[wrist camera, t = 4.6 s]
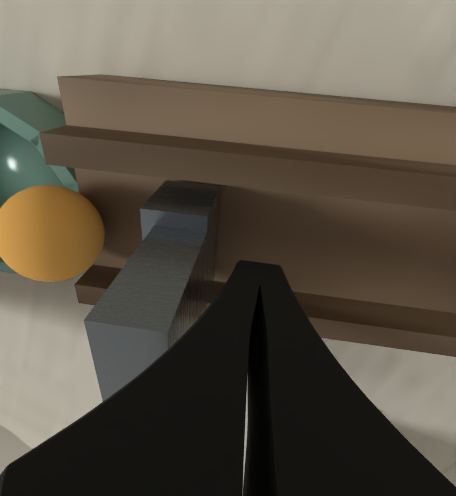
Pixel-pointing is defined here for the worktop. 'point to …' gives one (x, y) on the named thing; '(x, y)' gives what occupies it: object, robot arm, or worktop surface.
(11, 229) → the ball
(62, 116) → the teal shallow dish
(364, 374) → the worktop surface
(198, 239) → the gray l-shaped bracket
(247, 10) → the worktop surface
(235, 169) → the brown wooden moulding block
